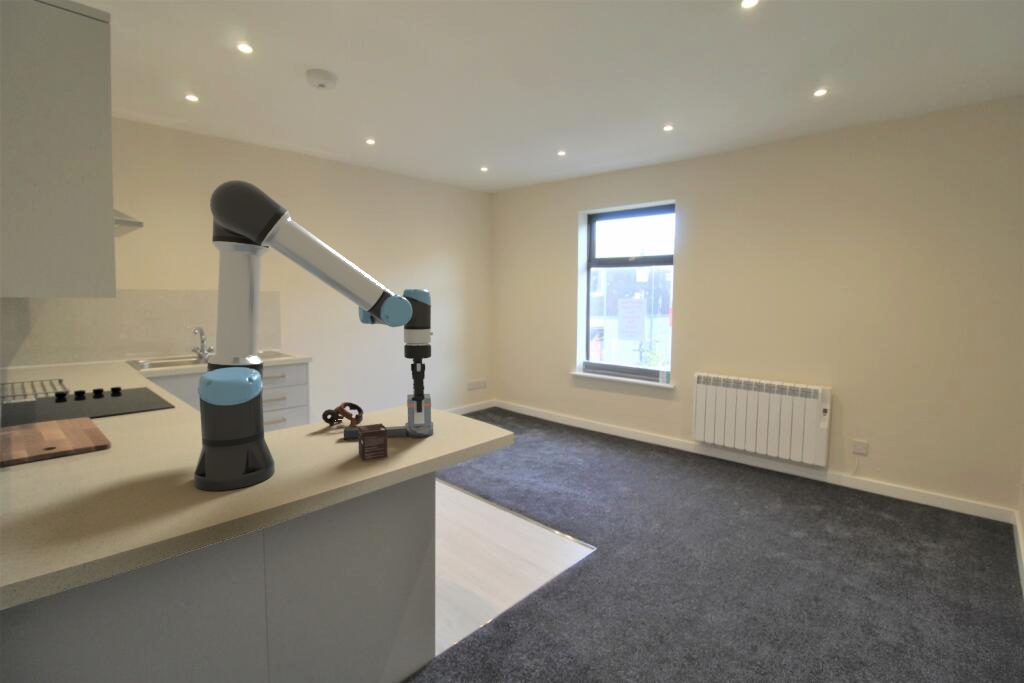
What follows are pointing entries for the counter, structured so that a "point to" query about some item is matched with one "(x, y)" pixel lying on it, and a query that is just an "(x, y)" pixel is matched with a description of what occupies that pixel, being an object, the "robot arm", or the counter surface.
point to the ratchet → (395, 432)
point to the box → (372, 442)
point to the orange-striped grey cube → (426, 411)
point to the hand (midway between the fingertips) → (418, 417)
